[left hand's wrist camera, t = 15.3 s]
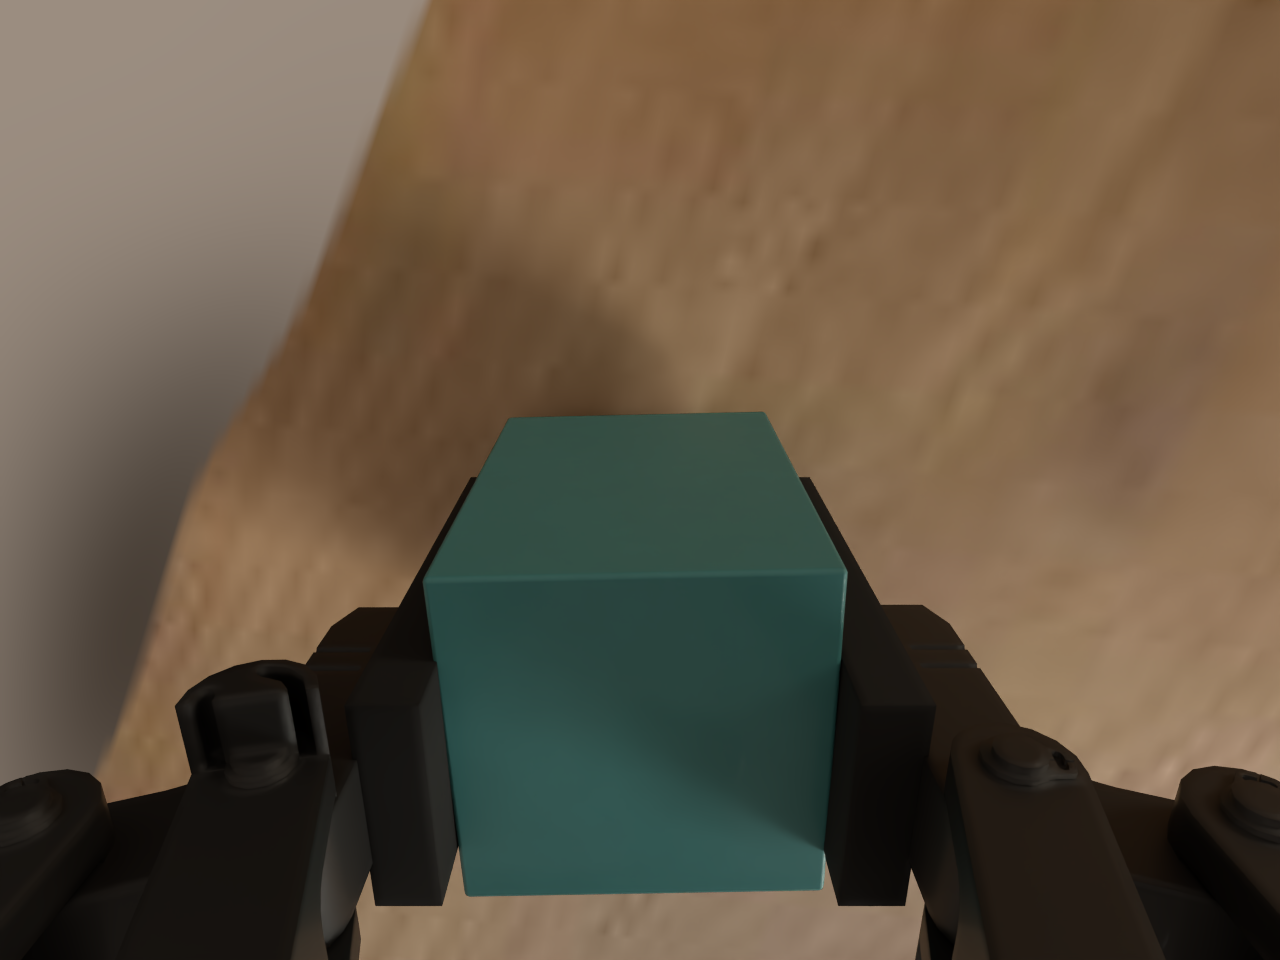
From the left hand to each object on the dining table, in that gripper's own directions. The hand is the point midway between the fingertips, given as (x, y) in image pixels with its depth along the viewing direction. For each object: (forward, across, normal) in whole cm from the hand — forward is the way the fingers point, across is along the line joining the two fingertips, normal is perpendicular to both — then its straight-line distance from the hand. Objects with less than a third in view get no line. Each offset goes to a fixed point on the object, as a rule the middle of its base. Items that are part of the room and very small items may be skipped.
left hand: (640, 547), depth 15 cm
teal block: (0, 0, 0) cm, 0 cm away
